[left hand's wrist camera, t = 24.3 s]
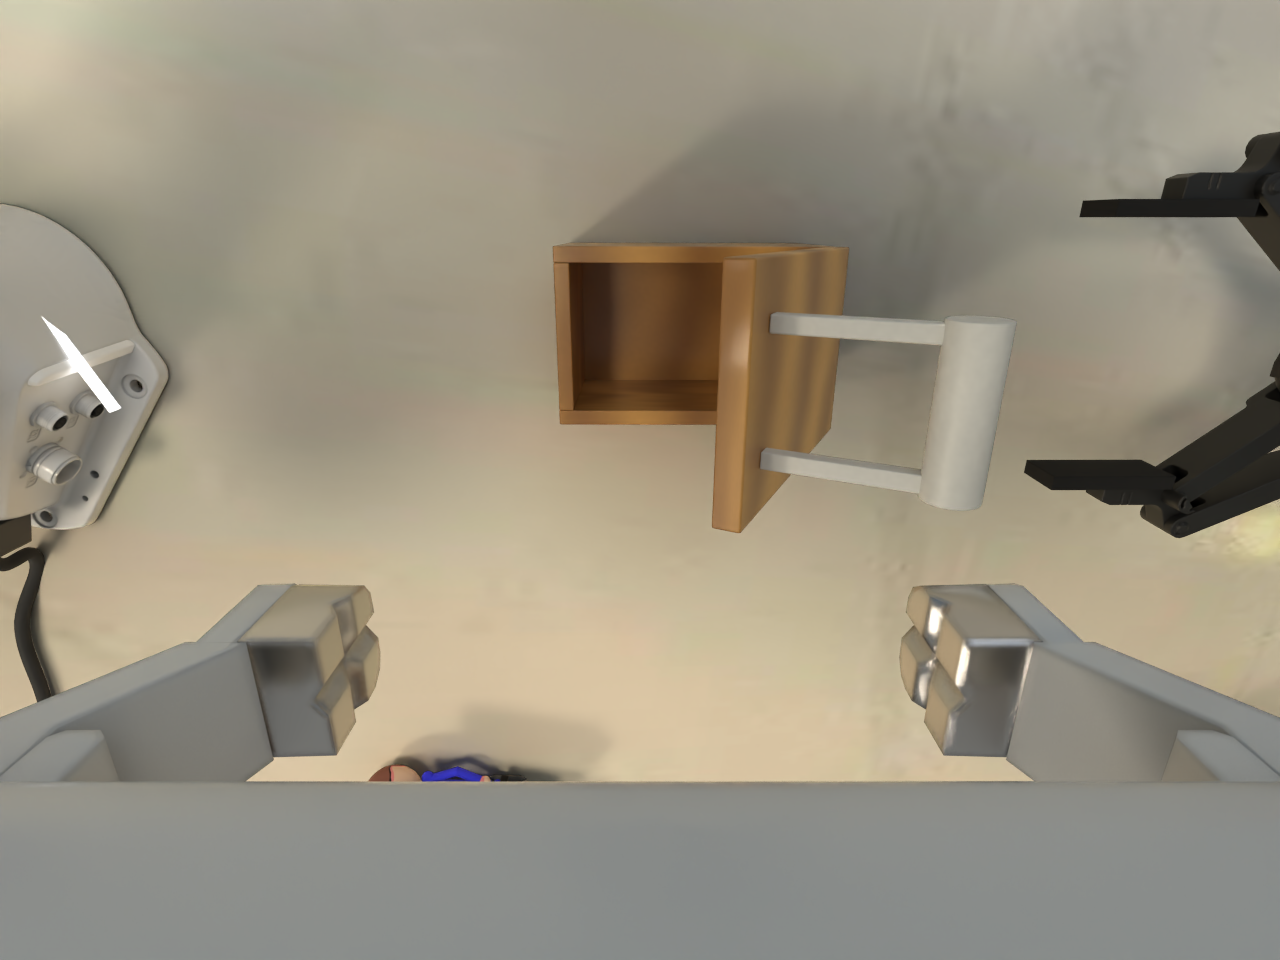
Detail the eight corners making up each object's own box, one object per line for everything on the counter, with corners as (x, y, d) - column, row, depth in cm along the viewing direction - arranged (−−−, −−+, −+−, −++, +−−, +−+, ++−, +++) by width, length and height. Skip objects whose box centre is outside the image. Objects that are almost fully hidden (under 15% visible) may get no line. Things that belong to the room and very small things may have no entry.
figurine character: (547, 748, 60) (370, 742, 57) (546, 819, 53) (344, 816, 50) (540, 806, 62) (369, 802, 60) (538, 881, 55) (344, 880, 53)
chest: (574, 388, 47) (559, 424, 39) (569, 242, 44) (552, 246, 35) (785, 389, 47) (817, 425, 39) (796, 243, 44) (834, 246, 35)
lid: (711, 528, 25) (969, 580, 22) (722, 256, 22) (1031, 263, 18) (810, 426, 38) (982, 448, 35) (827, 246, 35) (1019, 249, 31)
